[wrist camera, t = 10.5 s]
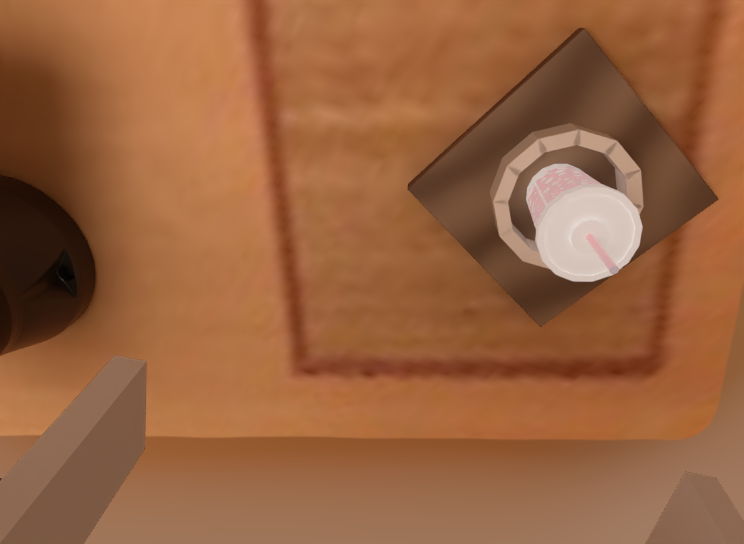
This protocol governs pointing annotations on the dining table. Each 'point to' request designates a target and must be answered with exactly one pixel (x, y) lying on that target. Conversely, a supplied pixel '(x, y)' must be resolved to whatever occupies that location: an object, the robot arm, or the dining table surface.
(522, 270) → the holder
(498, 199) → the ring
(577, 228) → the beverage cup
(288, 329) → the dining table surface
